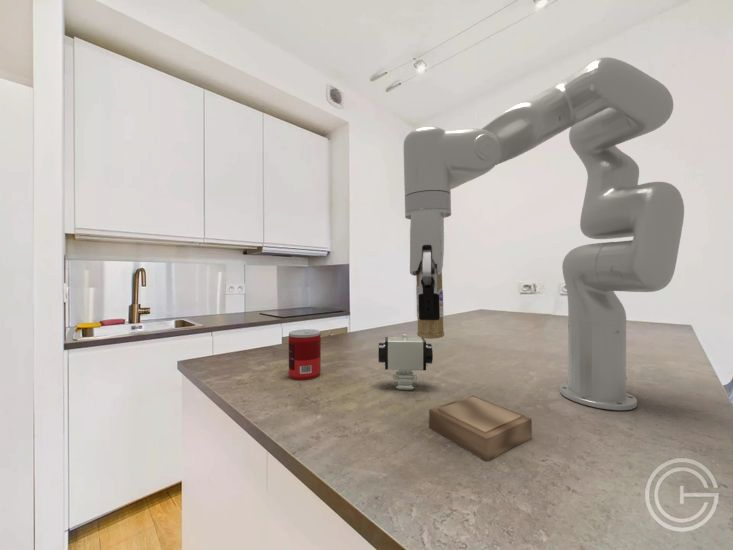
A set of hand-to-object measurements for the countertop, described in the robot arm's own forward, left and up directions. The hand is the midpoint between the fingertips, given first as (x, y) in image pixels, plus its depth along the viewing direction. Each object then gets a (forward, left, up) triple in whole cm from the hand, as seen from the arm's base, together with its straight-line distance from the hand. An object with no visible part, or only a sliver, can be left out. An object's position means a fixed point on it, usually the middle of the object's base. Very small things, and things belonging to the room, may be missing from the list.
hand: (430, 316), depth 51 cm
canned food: (+8, -36, -19) cm, 42 cm away
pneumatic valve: (-8, -16, -19) cm, 26 cm away
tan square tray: (-5, +6, -18) cm, 20 cm away
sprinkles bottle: (0, 0, -4) cm, 4 cm away
